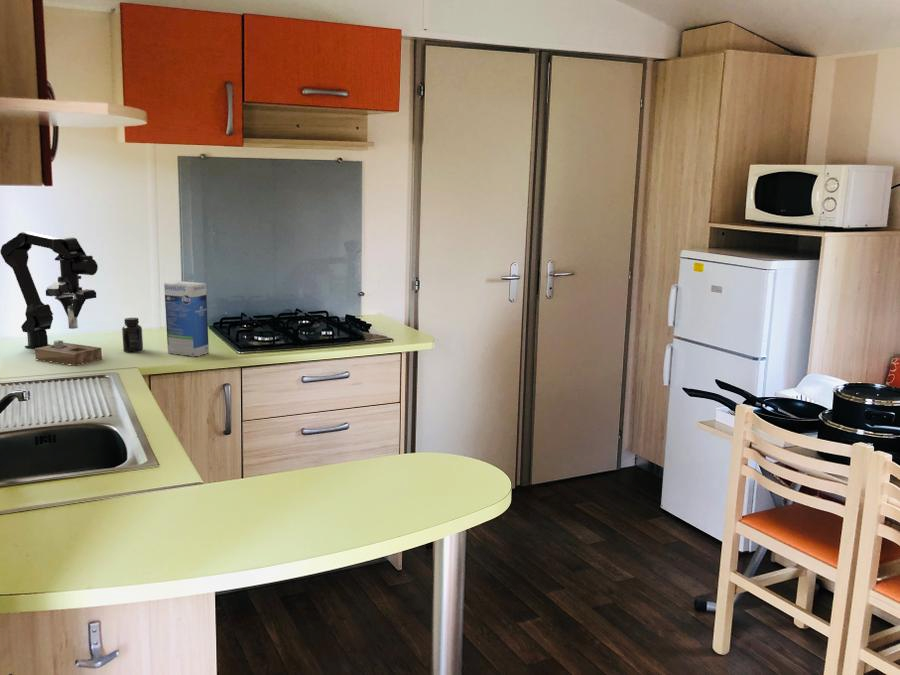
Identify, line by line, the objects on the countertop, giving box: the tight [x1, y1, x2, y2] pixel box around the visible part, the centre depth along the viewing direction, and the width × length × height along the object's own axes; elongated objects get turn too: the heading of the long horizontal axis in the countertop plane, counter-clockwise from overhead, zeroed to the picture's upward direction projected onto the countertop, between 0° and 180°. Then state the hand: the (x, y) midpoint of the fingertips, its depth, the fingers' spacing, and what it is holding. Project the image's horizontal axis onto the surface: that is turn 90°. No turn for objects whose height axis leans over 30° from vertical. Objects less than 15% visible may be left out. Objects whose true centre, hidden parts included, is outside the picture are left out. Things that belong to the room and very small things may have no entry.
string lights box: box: [163, 280, 210, 357], centre depth 310 cm, size 13×8×26 cm, turn 68°
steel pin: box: [67, 304, 79, 330], centre depth 309 cm, size 3×3×8 cm
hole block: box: [34, 341, 103, 366], centre depth 299 cm, size 12×18×4 cm, turn 66°
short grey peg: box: [53, 339, 64, 349], centre depth 301 cm, size 3×3×6 cm
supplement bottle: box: [121, 317, 144, 353], centre depth 314 cm, size 7×7×12 cm
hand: (72, 316), depth 309 cm, fingers closed on steel pin, 3 cm apart
